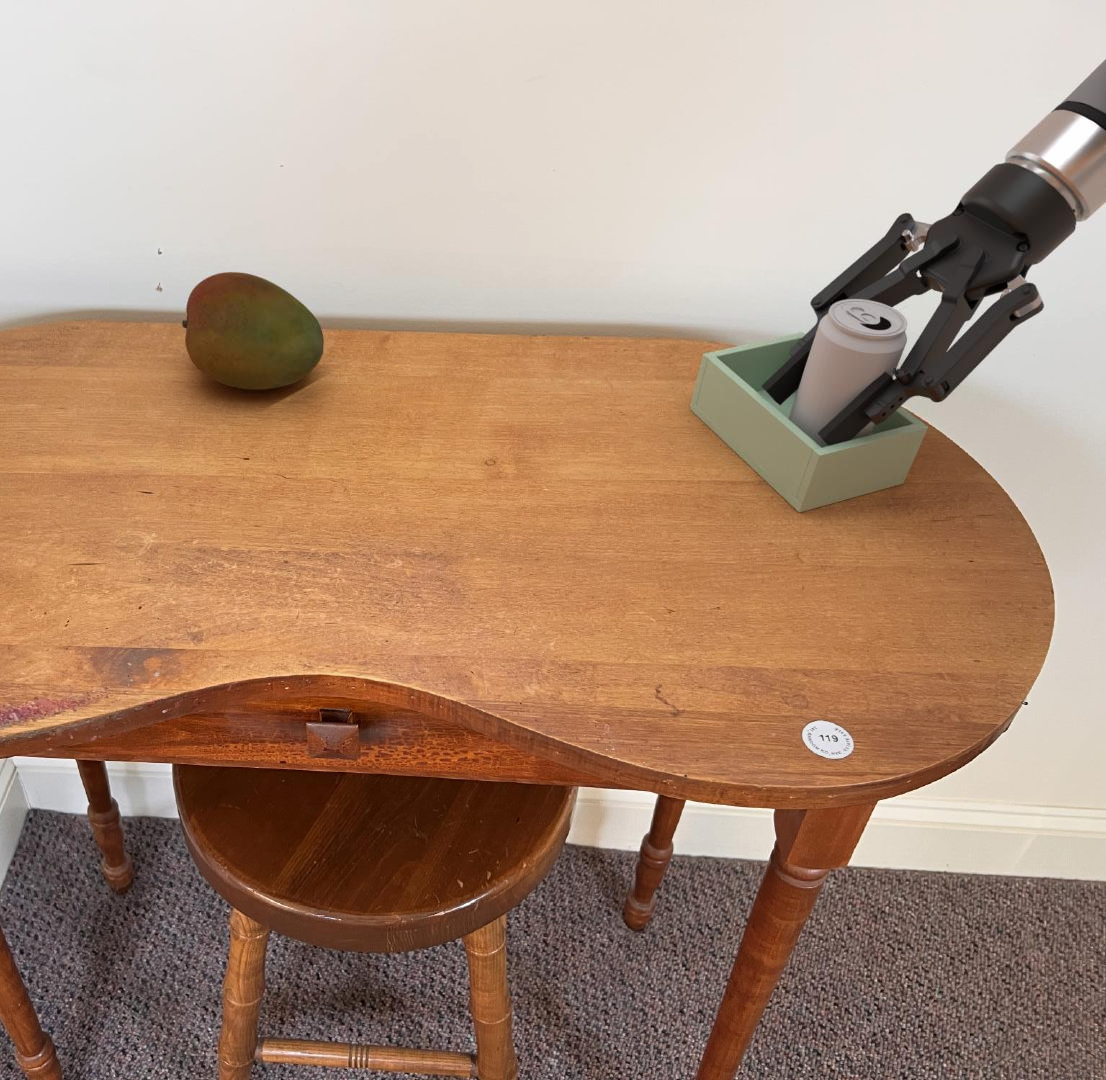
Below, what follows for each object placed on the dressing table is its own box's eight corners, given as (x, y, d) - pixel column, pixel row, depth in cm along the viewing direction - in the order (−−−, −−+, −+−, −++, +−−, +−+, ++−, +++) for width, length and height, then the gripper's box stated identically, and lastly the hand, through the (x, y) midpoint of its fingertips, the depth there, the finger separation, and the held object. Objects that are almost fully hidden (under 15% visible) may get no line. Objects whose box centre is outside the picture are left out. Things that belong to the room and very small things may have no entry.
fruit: (191, 347, 100) (178, 252, 94) (320, 340, 102) (316, 246, 95) (188, 416, 92) (174, 316, 85) (328, 408, 93) (325, 309, 86)
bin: (903, 484, 86) (928, 427, 82) (798, 513, 83) (820, 455, 79) (785, 386, 97) (802, 331, 93) (689, 408, 94) (702, 353, 90)
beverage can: (824, 475, 83) (872, 345, 75) (766, 434, 87) (806, 306, 79) (879, 453, 85) (932, 324, 77) (820, 413, 89) (865, 288, 81)
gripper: (1161, 278, 72) (897, 509, 79) (956, 174, 86) (744, 378, 92) (1144, 217, 67) (864, 468, 74) (929, 117, 81) (707, 337, 87)
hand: (798, 418), depth 83 cm, fingers closed on beverage can, 6 cm apart
